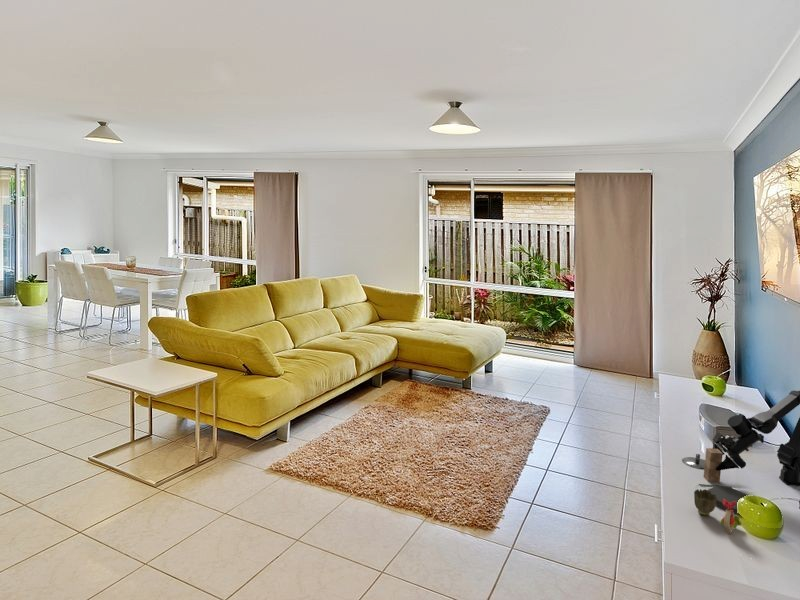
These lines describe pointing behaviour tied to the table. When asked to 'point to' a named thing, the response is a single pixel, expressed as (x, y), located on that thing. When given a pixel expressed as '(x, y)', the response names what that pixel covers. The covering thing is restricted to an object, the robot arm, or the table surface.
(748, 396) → the table surface
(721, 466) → the robot arm
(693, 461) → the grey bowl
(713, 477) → the walnut block
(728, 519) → the bird rattle
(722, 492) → the media streaming box
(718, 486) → the rubber mat
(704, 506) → the cup
